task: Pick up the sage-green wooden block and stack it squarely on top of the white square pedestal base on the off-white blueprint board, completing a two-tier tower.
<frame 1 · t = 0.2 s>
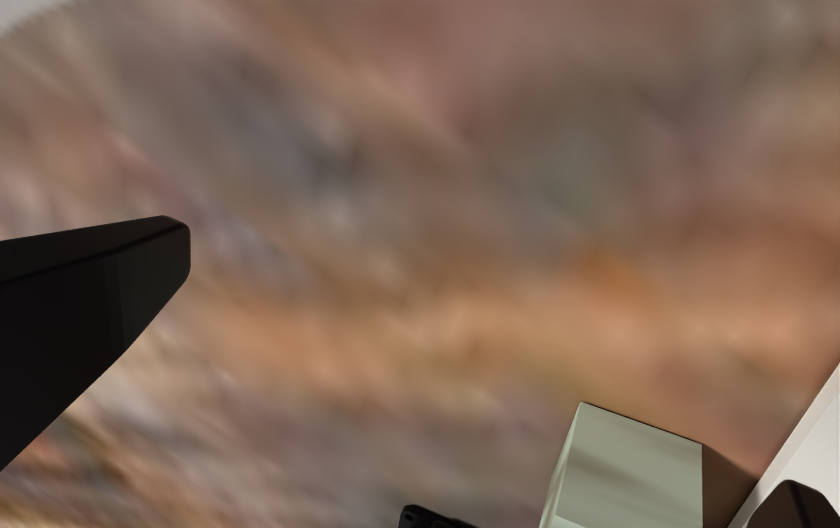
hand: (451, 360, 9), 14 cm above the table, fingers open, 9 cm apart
sage block: (621, 461, 27), on the table
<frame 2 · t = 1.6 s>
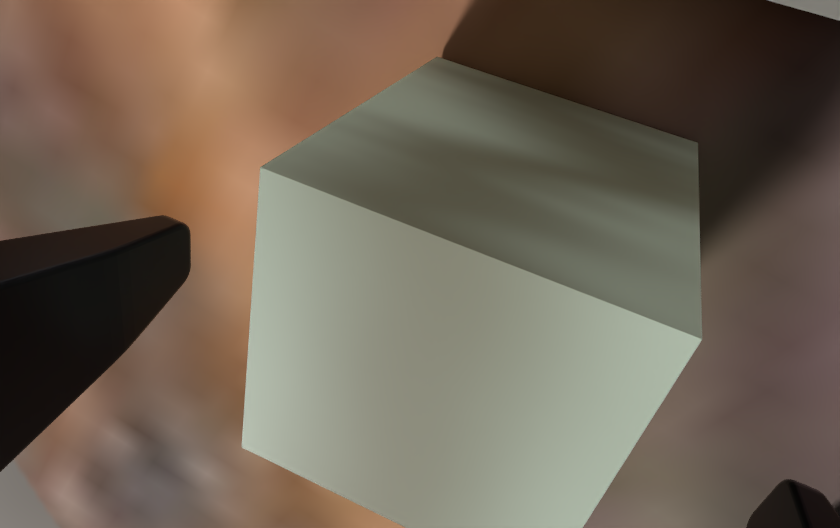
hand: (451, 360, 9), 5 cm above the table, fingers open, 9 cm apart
sage block: (521, 213, 13), on the table
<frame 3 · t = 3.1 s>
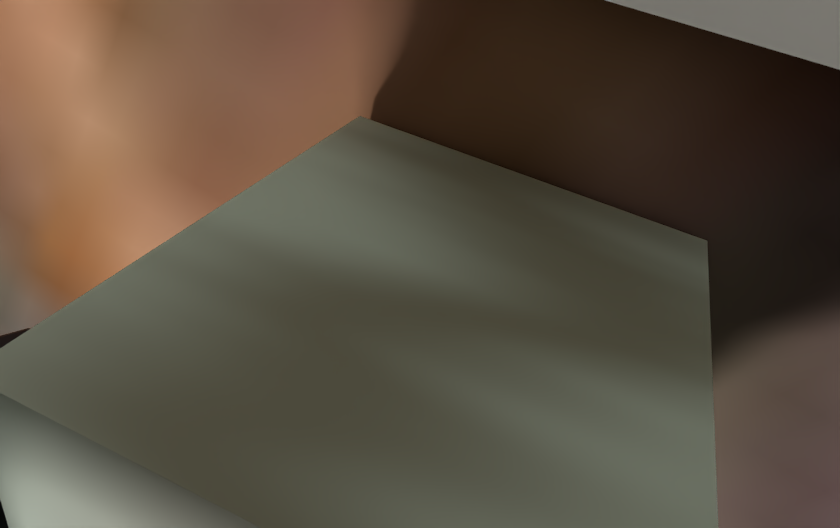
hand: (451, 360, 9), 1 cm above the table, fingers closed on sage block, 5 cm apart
sage block: (476, 313, 10), on the table, touching gripper
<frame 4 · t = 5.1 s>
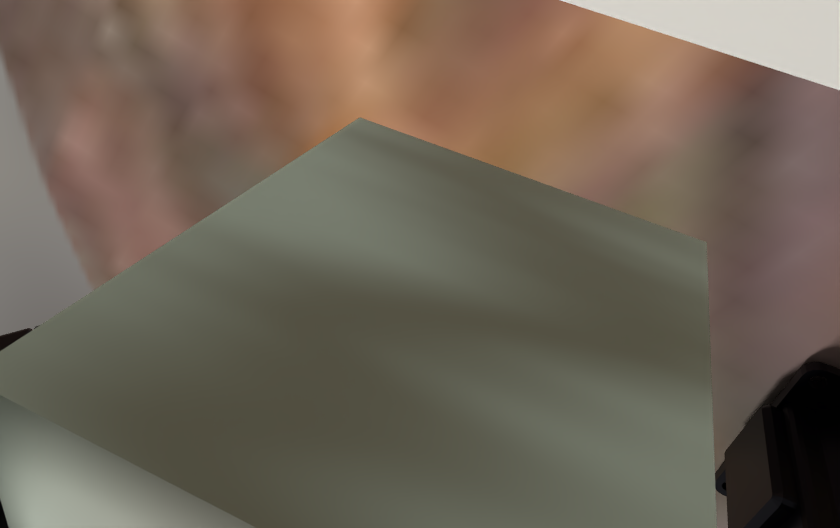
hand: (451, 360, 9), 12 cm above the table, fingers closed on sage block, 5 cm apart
sage block: (476, 314, 10), point 11 cm above the table, touching gripper
when the fingers open (7 cm above the table, at t = 7.5 s): sage block drops 1 cm, resting on white square pedestal base.
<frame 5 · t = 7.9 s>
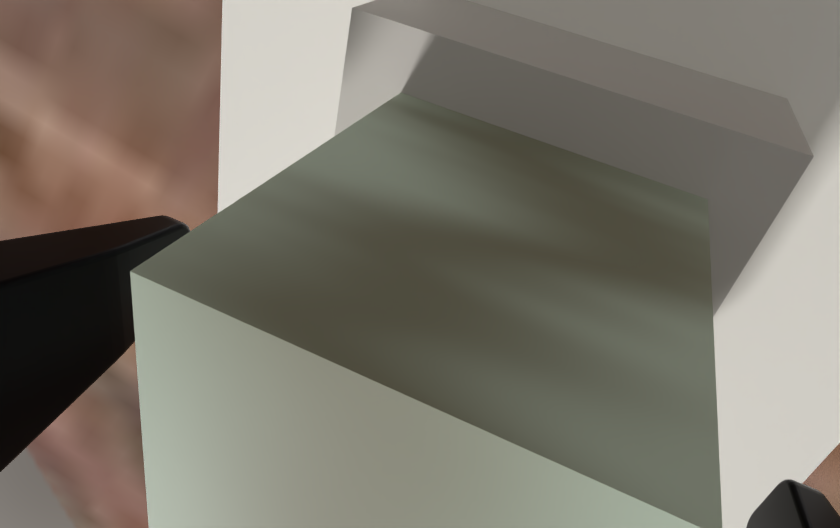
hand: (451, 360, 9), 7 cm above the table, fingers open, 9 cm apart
white square pedestal base: (543, 184, 14), on the table
sage block: (501, 271, 11), point 4 cm above the table, touching white square pedestal base
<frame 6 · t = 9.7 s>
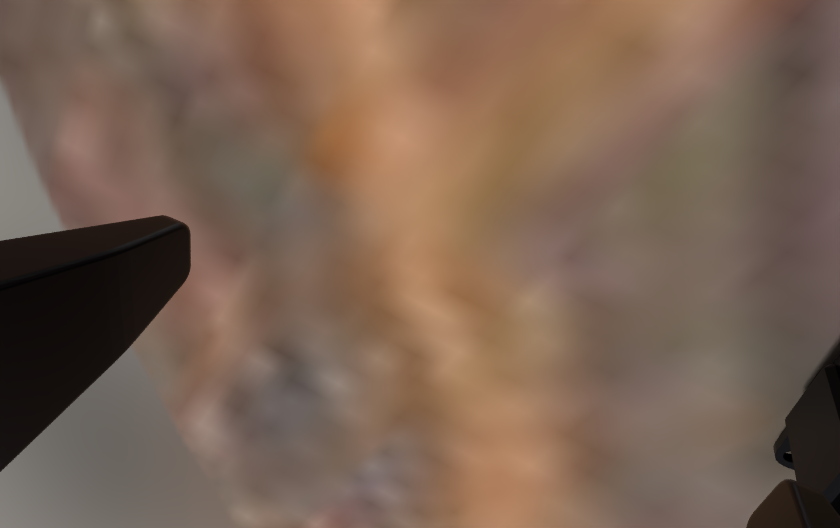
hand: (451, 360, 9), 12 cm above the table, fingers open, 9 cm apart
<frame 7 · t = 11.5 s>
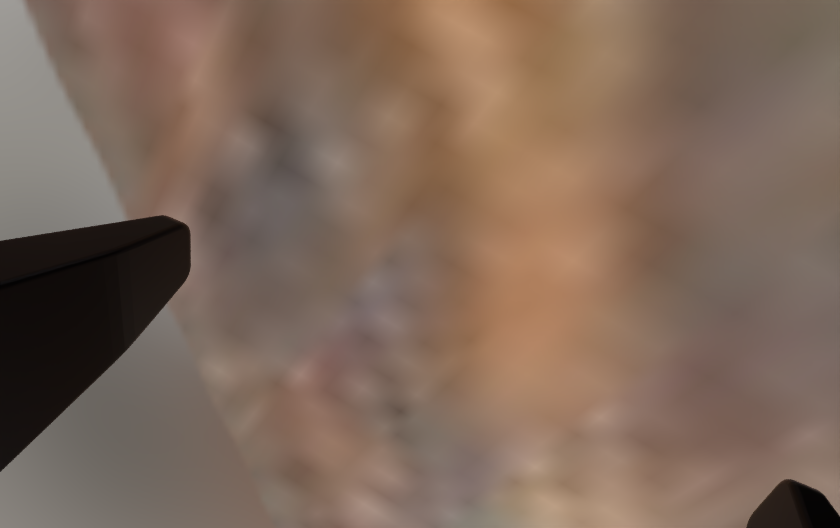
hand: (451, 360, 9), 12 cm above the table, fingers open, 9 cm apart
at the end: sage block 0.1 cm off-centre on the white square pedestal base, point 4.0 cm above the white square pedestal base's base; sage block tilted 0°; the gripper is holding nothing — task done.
